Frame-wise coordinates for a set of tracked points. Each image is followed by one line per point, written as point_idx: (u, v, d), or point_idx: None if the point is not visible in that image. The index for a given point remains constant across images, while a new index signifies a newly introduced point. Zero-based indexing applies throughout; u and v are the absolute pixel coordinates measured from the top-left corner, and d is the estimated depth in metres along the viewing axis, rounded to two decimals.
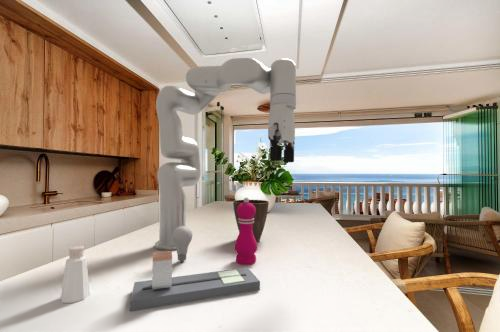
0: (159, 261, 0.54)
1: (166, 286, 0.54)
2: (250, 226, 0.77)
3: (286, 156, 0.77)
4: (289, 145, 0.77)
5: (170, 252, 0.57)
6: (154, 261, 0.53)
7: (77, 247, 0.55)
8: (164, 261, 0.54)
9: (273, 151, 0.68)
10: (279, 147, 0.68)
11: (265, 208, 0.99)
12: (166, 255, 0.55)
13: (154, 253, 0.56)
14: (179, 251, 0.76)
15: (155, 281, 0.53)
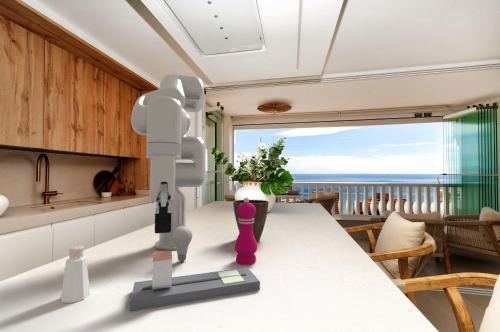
0: (159, 261, 0.54)
1: (166, 286, 0.54)
2: (250, 226, 0.77)
3: None
4: None
5: (170, 252, 0.57)
6: (154, 261, 0.53)
7: (77, 247, 0.55)
8: (164, 261, 0.54)
9: (161, 221, 0.50)
10: (169, 215, 0.51)
11: (265, 208, 0.99)
12: (166, 255, 0.55)
13: (154, 253, 0.56)
14: (179, 251, 0.76)
15: (155, 281, 0.53)
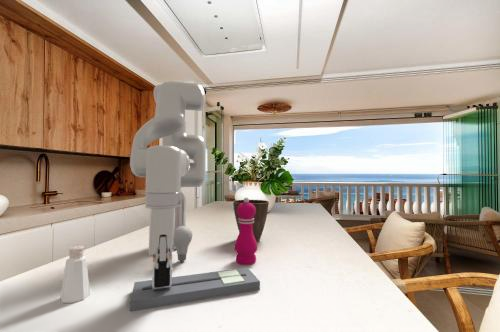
0: None
1: (166, 286, 0.54)
2: (250, 226, 0.77)
3: None
4: None
5: None
6: (154, 261, 0.53)
7: (77, 247, 0.55)
8: None
9: (160, 276, 0.53)
10: (167, 269, 0.54)
11: (265, 208, 0.99)
12: None
13: None
14: (179, 251, 0.76)
15: None
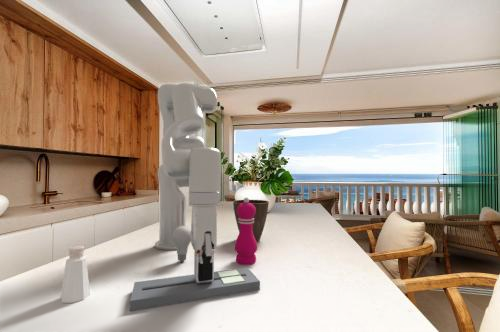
0: None
1: (209, 280, 0.57)
2: (250, 226, 0.77)
3: None
4: None
5: None
6: (198, 256, 0.57)
7: (77, 247, 0.55)
8: None
9: (204, 270, 0.56)
10: (210, 264, 0.57)
11: (265, 208, 0.99)
12: None
13: None
14: (179, 251, 0.76)
15: None
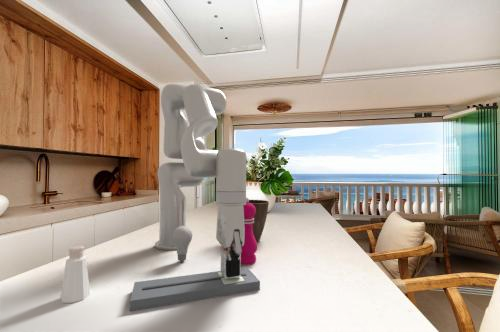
0: None
1: (236, 276, 0.60)
2: (250, 226, 0.77)
3: None
4: None
5: None
6: (226, 253, 0.59)
7: (77, 247, 0.55)
8: None
9: (233, 267, 0.58)
10: (238, 260, 0.59)
11: (265, 208, 0.99)
12: None
13: None
14: (179, 251, 0.76)
15: None
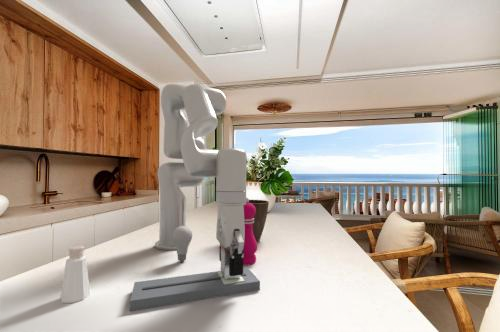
0: None
1: (236, 276, 0.60)
2: (250, 226, 0.77)
3: None
4: None
5: None
6: (226, 253, 0.59)
7: (77, 247, 0.55)
8: None
9: (236, 265, 0.56)
10: (241, 259, 0.57)
11: (265, 208, 0.99)
12: (235, 248, 0.60)
13: None
14: (179, 251, 0.76)
15: (227, 272, 0.59)
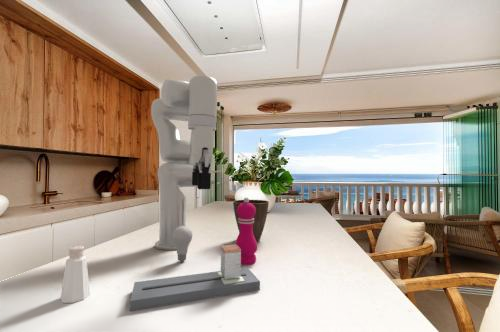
0: (230, 253, 0.59)
1: (236, 276, 0.60)
2: (250, 226, 0.77)
3: (196, 179, 0.71)
4: (198, 167, 0.72)
5: (236, 246, 0.62)
6: (226, 253, 0.59)
7: (77, 247, 0.55)
8: (234, 253, 0.60)
9: (203, 179, 0.62)
10: (209, 175, 0.63)
11: (265, 208, 0.99)
12: (235, 248, 0.60)
13: (223, 246, 0.62)
14: (179, 251, 0.76)
15: (227, 272, 0.59)
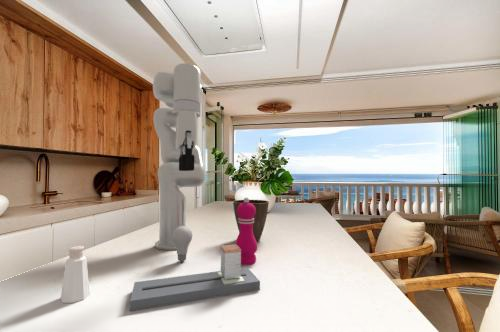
0: (230, 253, 0.59)
1: (236, 276, 0.60)
2: (250, 226, 0.77)
3: None
4: None
5: (236, 246, 0.62)
6: (226, 253, 0.59)
7: (77, 247, 0.55)
8: (234, 253, 0.60)
9: (187, 160, 0.64)
10: (192, 156, 0.65)
11: (265, 208, 0.99)
12: (235, 248, 0.60)
13: (223, 246, 0.62)
14: (179, 251, 0.76)
15: (227, 272, 0.59)
